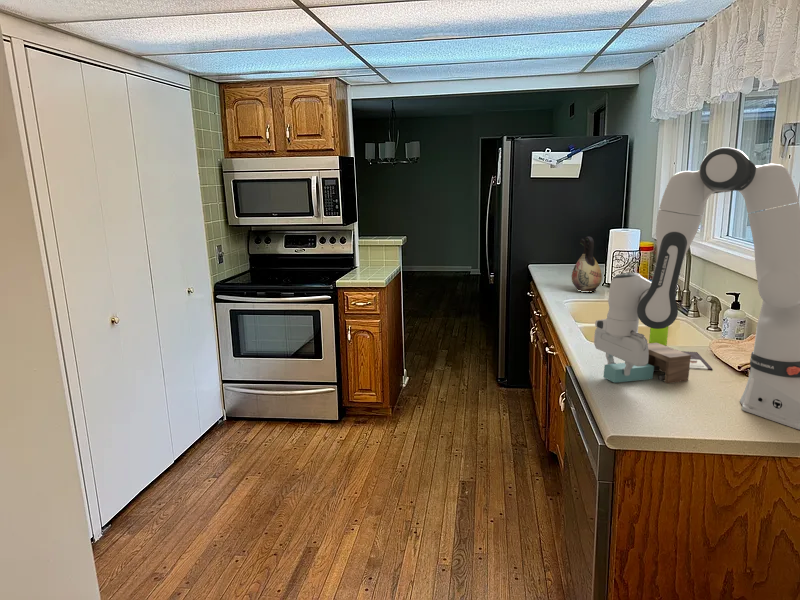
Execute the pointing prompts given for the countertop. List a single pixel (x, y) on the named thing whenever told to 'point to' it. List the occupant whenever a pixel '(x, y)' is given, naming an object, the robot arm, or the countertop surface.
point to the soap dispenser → (659, 336)
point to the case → (636, 373)
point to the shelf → (669, 362)
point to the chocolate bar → (697, 361)
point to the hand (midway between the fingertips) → (618, 371)
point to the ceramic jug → (587, 268)
